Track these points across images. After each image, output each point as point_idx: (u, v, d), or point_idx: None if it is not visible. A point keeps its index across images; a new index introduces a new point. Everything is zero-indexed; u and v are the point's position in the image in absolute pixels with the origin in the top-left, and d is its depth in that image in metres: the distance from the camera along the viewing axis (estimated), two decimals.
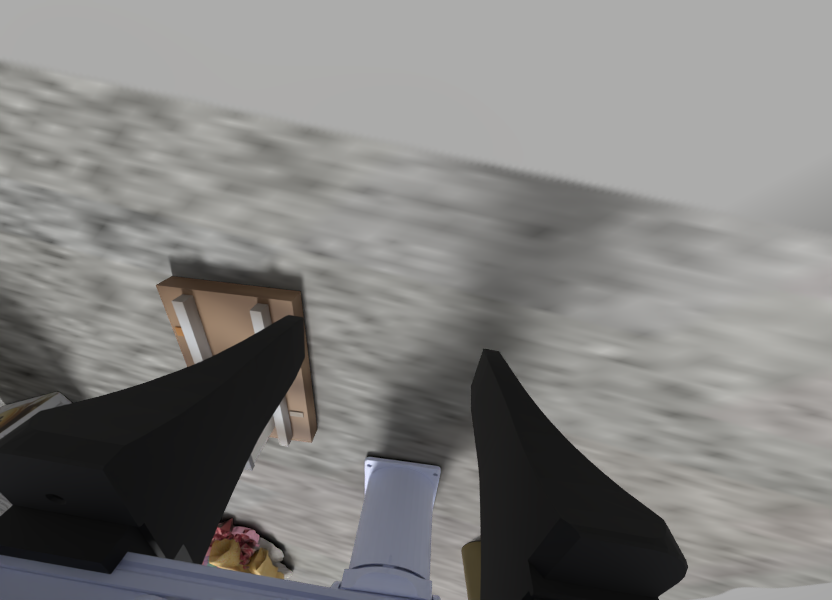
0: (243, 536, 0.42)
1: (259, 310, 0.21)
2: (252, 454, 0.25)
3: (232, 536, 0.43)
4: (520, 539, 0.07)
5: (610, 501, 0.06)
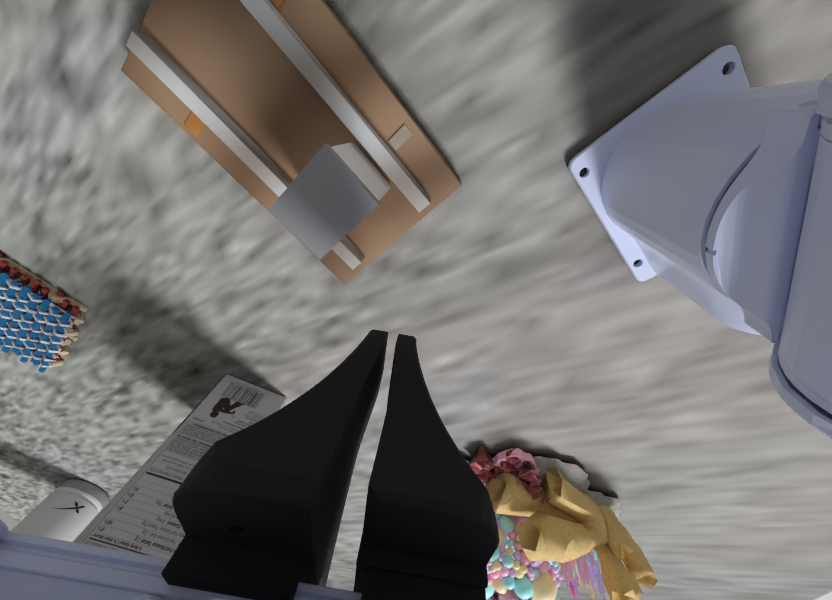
0: (510, 460, 0.29)
1: None
2: (362, 183, 0.14)
3: (499, 469, 0.30)
4: None
5: (439, 472, 0.06)
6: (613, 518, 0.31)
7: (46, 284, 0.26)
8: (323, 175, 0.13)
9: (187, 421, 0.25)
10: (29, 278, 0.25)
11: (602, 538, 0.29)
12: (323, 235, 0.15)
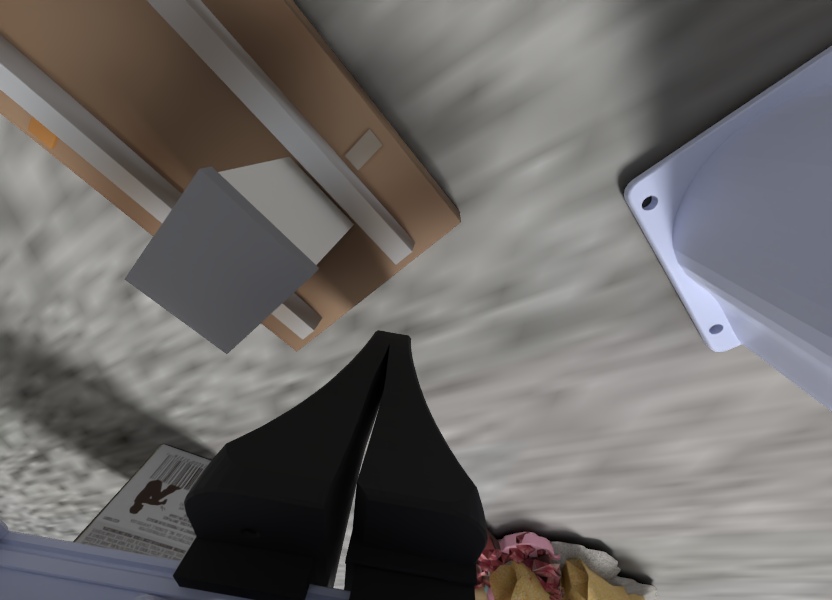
0: (522, 549, 0.23)
1: None
2: (286, 234, 0.08)
3: (507, 556, 0.24)
4: None
5: (429, 470, 0.06)
6: None
7: None
8: (207, 224, 0.07)
9: (94, 524, 0.18)
10: None
11: None
12: (226, 319, 0.09)
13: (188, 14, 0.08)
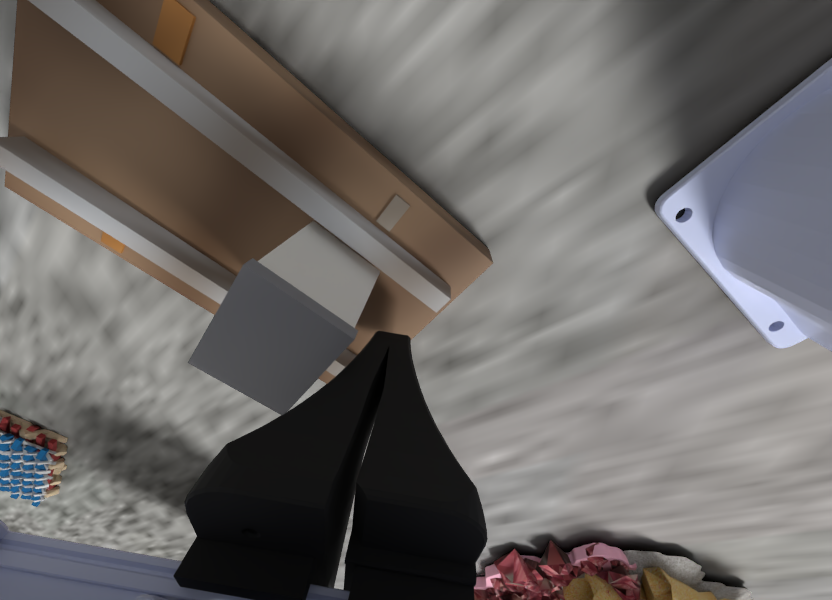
0: (594, 561, 0.22)
1: None
2: (324, 304, 0.08)
3: (579, 570, 0.23)
4: None
5: (428, 470, 0.06)
6: None
7: (17, 419, 0.22)
8: (255, 309, 0.08)
9: None
10: None
11: None
12: (279, 386, 0.09)
13: (228, 131, 0.09)
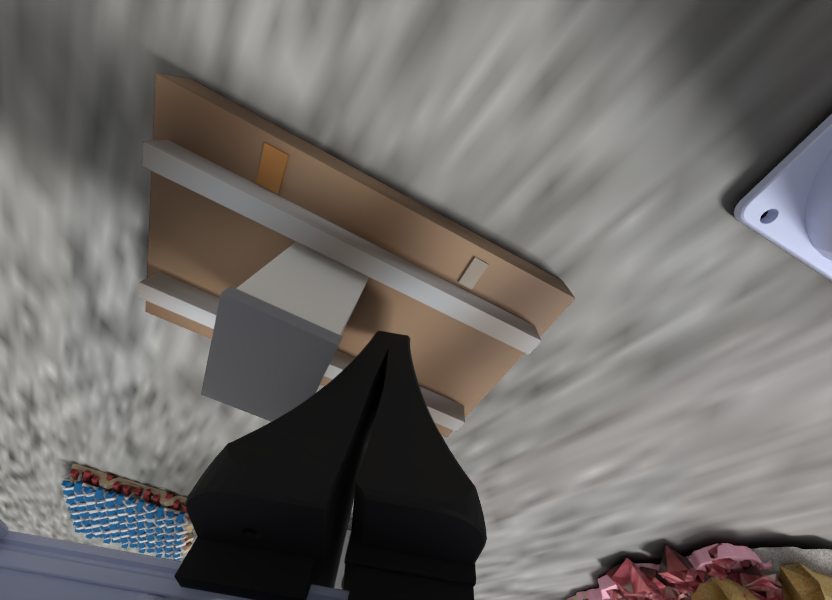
0: (720, 563, 0.21)
1: (144, 146, 0.10)
2: (307, 317, 0.09)
3: (705, 574, 0.22)
4: None
5: (428, 470, 0.06)
6: None
7: (155, 490, 0.26)
8: (242, 333, 0.08)
9: None
10: (140, 490, 0.25)
11: None
12: (285, 403, 0.10)
13: (328, 240, 0.11)
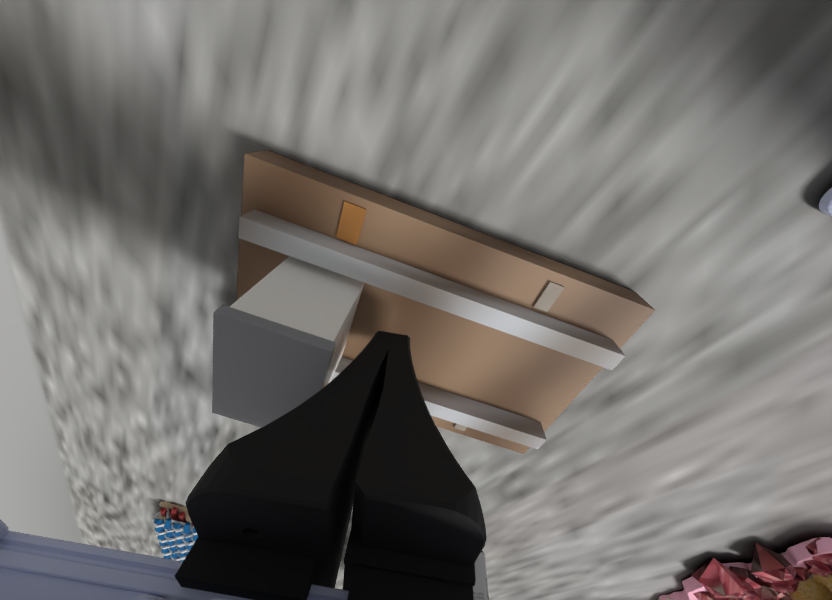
0: (822, 559, 0.20)
1: (240, 220, 0.11)
2: (300, 327, 0.09)
3: (805, 571, 0.21)
4: None
5: (427, 470, 0.06)
6: None
7: None
8: (240, 349, 0.09)
9: None
10: None
11: None
12: None
13: (410, 283, 0.11)
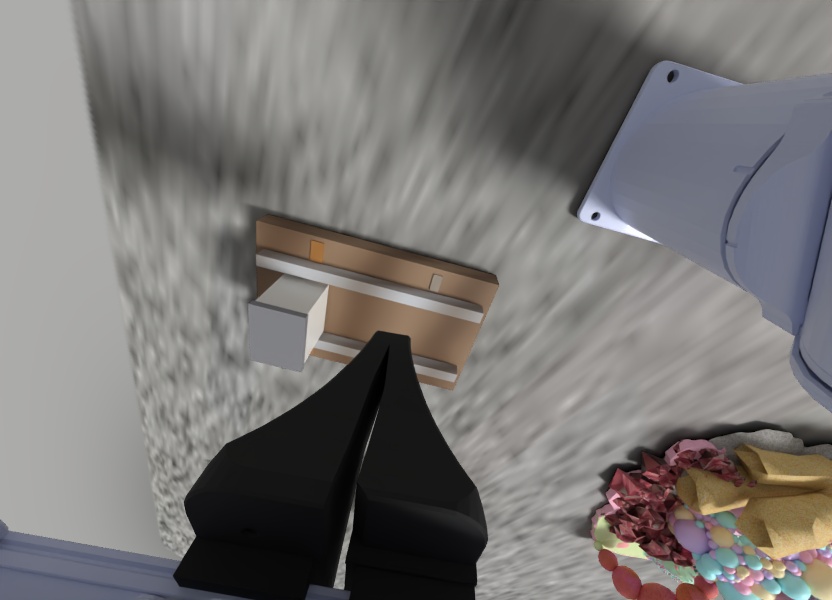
0: (683, 455, 0.27)
1: (256, 256, 0.20)
2: (290, 308, 0.18)
3: (678, 468, 0.28)
4: None
5: (429, 470, 0.06)
6: None
7: None
8: (261, 321, 0.17)
9: None
10: None
11: None
12: (290, 356, 0.19)
13: (352, 282, 0.20)
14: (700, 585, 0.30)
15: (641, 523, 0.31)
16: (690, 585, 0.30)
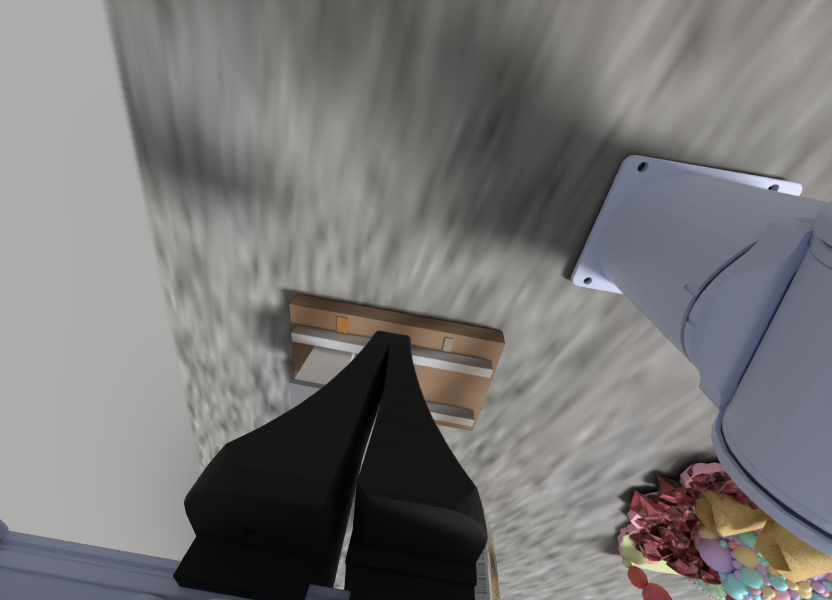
0: (697, 479, 0.28)
1: (291, 333, 0.23)
2: (324, 382, 0.21)
3: (694, 490, 0.29)
4: None
5: (429, 470, 0.06)
6: None
7: None
8: (301, 395, 0.21)
9: None
10: None
11: None
12: None
13: None
14: None
15: (664, 543, 0.31)
16: None
